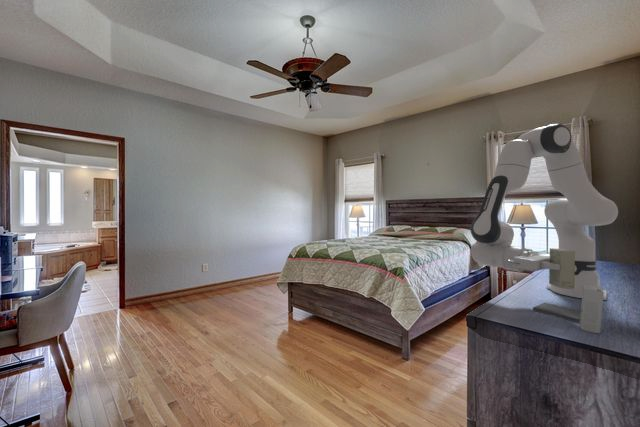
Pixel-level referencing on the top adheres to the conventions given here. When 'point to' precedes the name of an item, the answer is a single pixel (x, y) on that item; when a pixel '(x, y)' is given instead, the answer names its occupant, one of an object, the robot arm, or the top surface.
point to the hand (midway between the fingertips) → (565, 266)
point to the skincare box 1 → (562, 268)
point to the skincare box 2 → (591, 308)
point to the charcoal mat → (558, 311)
